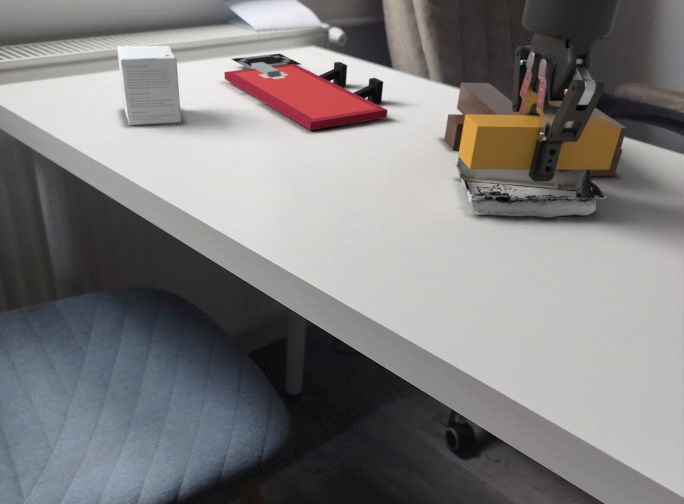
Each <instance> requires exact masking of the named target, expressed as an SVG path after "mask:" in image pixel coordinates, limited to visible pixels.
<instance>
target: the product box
mask: <svg viewBox="0 0 684 504" xmlns="http://www.w3.org/2000/svg"><path fill="white" fill-rule="evenodd" d="M116 51H117V59H118V60H117V61H118V69H119V77H120V86H121V87H120V88H121V95H122V103H123V110H124V113H125V116H126V118H127V122H128V126H138V125H152V124H153V125H154V124H173V123H181V122H182V113H181V102H180V85H179V75H178V74H179V73H178V60H177V58H176V57H177V56H175V54H174V53H173V50H172V49H171V47H170V46H169V45H117V46H116Z"/></svg>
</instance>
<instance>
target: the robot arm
mask: <svg viewBox="0 0 684 504" xmlns="http://www.w3.org/2000/svg"><path fill="white" fill-rule="evenodd" d="M620 2H621V0H525V4H524V9H523V14H522V18H521V24H522V27H524V29H526V30H527V31H529V32H531V33H534V35H533V38H532V40H531V42H530V45H518V46H516V48H515V52H514V66H513V83H512V84H513V85H512V86H513V87H512V100H511V101H512V110H513V112H518V115H540V124H539V131H538V140H537V142H536V147H535V151H534V155H533V159H532V163H531V168H530V171H529V177H530V178H531V179H532V180H533V181H550V180H552V179H553V177H554V173H555V169H556V165H557V161H558V157H559V154H560V150H561V146H562V144H563V143H564V142H577V141H578V139H579V138H580V136H581V134H582V132H583V130H584V128H585V126H586V124H587V122H588V120H589V118H590V116H591V114H592V112H593V111H594V109H595V108H596V107H597V105H598V103H599V101H600V99H601V97H602V95H603V93H604V90H605V83H604V81H603V80H602V79H598V80H597V79H593V78H592V76H591V74H590V70H591V67H592V53H593V52H592V51H593V46H594V44H595V43H596V42H597V41H599V40H603V39H606V38H607V37H609V36H610V35H611V34H612V31H613V28H614V25H615V21H616V17H617V13H618V9H619V6H620ZM557 101H562V103H561V105H553V104H555V103H556V102H557ZM553 115H556V116H555V118H554V120H553V122H552V124H551V126H550V123H551V117H552V116H553ZM571 121H574V122H573V124H572V126H571ZM570 126H571V127H570Z"/></svg>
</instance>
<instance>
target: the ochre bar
mask: <svg viewBox="0 0 684 504" xmlns="http://www.w3.org/2000/svg"><path fill="white" fill-rule="evenodd" d="M554 118H555V116H552V117H551V123H550V126H551V124H552V122H553V120H554ZM573 122H574V121H571V126H572V124H573ZM539 124H540V115H481V114H466V115H465V120H464V126H463V131H462V137H461V143H460V149H459V150H458V158H459V157H460V159H461V160H462V161H463V162H464V163H465V164H466V166H467V167H468V168H469V169H530V168H531V163H532V159H533V155H534V151H535V147H536V142H537V140H538V131H539ZM571 126H570V127H571ZM620 132H621V128H620V127H619V126H617V125H616V124H614V123H613V122H611V121H610V120H608V119H607V118H605V117H604V116H590V118H589V120H588V122H587V124H586V126H585V128H584V130H583V132H582V134H581V136H580V138H579V139H578V141H577V142H564V143H563V144H562V146H561V150H560V154H559V157H558V161H557V165H556V169H555V170H609V168H610V165H611V161H612V158H613V155H614V151H615V148H616V145H617V142H618V138H619V135H620Z"/></svg>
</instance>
